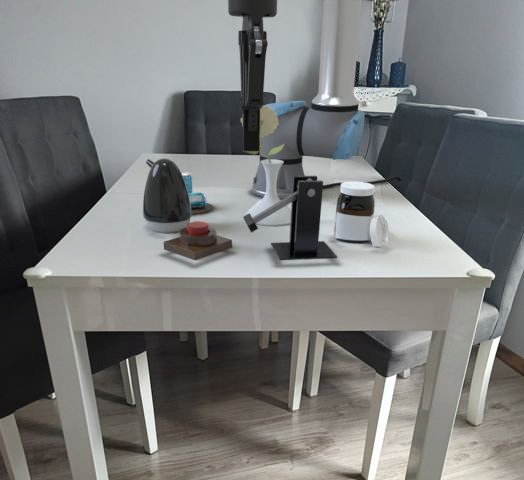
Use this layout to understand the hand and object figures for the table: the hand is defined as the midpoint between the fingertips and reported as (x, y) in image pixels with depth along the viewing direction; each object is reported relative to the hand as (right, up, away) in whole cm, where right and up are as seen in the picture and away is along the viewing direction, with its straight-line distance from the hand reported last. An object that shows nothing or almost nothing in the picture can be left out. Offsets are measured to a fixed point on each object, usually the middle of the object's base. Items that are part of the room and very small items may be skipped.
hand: (251, 150), depth 91 cm
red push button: (-10, -13, +9) cm, 18 cm away
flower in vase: (+3, -6, +29) cm, 30 cm away
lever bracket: (+10, -17, +11) cm, 22 cm away
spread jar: (+23, -13, +19) cm, 32 cm away
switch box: (-10, -16, +11) cm, 22 cm away
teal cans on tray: (-16, 0, +39) cm, 42 cm away
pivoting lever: (+6, -9, +6) cm, 12 cm away
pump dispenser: (-18, -9, +22) cm, 30 cm away
